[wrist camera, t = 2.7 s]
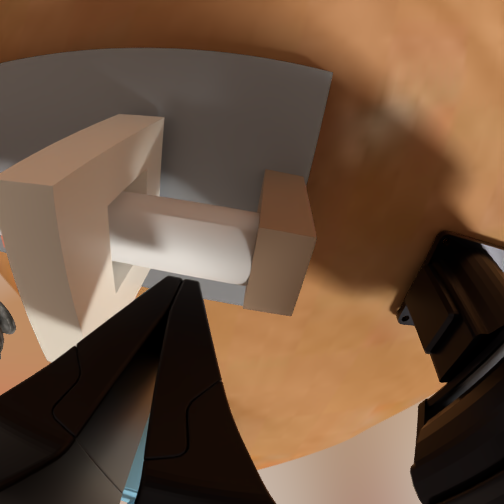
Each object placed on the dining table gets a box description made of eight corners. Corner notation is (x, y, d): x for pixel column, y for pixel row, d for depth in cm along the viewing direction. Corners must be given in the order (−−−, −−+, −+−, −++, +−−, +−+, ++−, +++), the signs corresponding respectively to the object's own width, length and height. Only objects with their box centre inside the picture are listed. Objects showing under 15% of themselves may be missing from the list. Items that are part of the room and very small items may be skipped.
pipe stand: (328, 72, 11) (370, 76, 6) (273, 295, 18) (269, 391, 13) (-40, 74, 11) (-113, 101, 5) (-21, 233, 17) (-72, 283, 12)
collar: (164, 117, 11) (52, 185, 5) (158, 253, 15) (97, 378, 9) (119, 114, 11) (-10, 178, 5) (120, 246, 15) (47, 360, 9)
